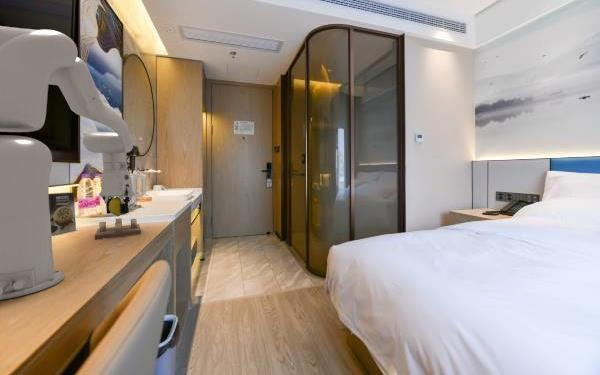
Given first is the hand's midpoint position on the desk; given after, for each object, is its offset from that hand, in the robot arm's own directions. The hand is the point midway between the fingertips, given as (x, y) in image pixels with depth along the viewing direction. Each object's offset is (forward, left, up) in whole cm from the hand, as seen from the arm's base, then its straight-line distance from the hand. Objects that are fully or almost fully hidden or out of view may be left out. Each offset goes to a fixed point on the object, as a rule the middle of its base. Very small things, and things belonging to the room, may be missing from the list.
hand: (117, 212), depth 99 cm
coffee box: (+16, +20, -8) cm, 27 cm away
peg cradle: (0, 0, -8) cm, 8 cm away
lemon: (0, 0, -2) cm, 2 cm away
